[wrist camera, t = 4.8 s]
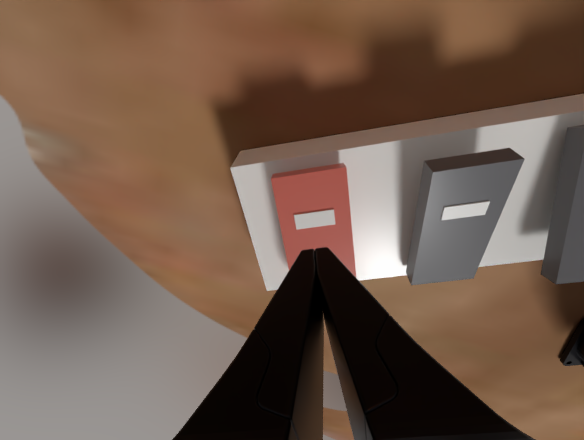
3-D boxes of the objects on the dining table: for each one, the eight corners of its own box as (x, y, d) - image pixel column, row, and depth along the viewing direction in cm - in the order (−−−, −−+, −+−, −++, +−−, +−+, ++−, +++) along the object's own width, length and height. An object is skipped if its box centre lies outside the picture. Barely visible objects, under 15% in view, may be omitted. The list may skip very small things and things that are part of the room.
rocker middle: (465, 265, 17) (474, 279, 16) (405, 271, 17) (411, 286, 17) (509, 147, 12) (526, 159, 11) (423, 160, 12) (433, 173, 11)
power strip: (664, 214, 19) (723, 239, 16) (270, 262, 21) (267, 291, 19) (755, 65, 14) (857, 66, 12) (240, 150, 17) (230, 167, 14)
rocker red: (355, 292, 17) (358, 304, 16) (297, 299, 17) (296, 311, 16) (343, 162, 14) (346, 167, 13) (273, 173, 14) (270, 179, 13)
